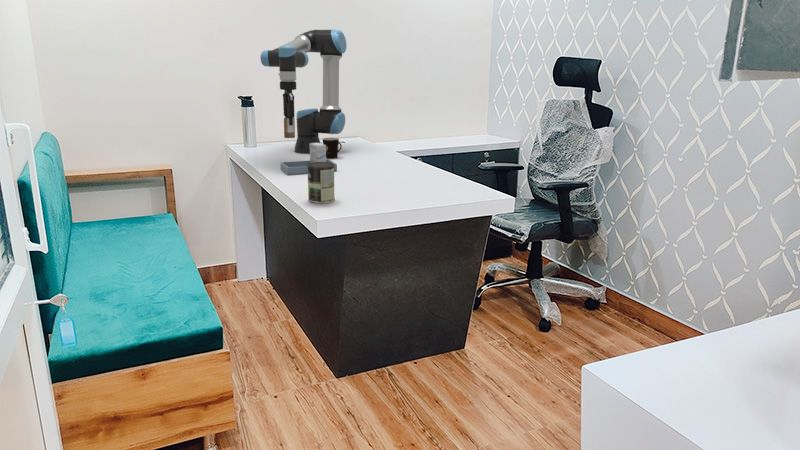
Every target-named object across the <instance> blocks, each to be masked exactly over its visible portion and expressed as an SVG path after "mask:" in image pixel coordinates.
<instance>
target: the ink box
mask: <svg viewBox="0 0 800 450" xmlns="http://www.w3.org/2000/svg"><path fill="white" fill-rule="evenodd" d="M309 145H310V153H309V157H310V158H309V160H310V163H313V162H326V145H324V144H323V143H321V142H320V143H310V144H309Z"/></svg>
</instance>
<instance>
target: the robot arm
mask: <svg viewBox="0 0 800 450" xmlns="http://www.w3.org/2000/svg"><path fill="white" fill-rule="evenodd" d="M346 51H347V40H346V36H345V34H344V32H343V31H341V30H340V29H312V30H308V31H305V32H302V33H301V34H299V35H297V36H295V38H294V39H293V40H291V41H288V42H287V43H284V44H282V45H280V46H278V47H276V48H274V49H271V50H269V49H267V50H262V51H261V53H260V62H261V64H262V65H263V66H264V67H269V68H271V67H272V68H279V69H278V71H279V72H278V74H277V75H278V76H279V80H280V81H279V89H280V90H282V91H284V93H282V99H283V100H282V101H283V102H282V103H283V116H284V118H287V125H288V132H294V122H293V118H295V95H294V93H293V91H294V90H297V68H300V69H301V68H304V67H306V66H307V65H308V63H309V57H308V56H309V55H308V54H307V53H319V54H320V55H319V57H320V58H321V59H322V105H321V106H320V108H319V109H318V108H309V109H308V108H306V109H299V110H298V111H297V112H296V120H295V121H296V133H297V134H296V135H297V136H296V137H297V138H296V141H295V145H294V153H298V154H310V145H309V144H310V143H321V140H320V138H319V137H320V135H319V134H328V135H339V134H341V133H342V132H343V130H344V128H345V125H346V114H345V113H344V112H342V108H341V107H340V104H339V101H340V98H339V97H340V93H339V92H340V89H339V88H340V60H341V58H342V57H343V54H345V53H346Z"/></svg>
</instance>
